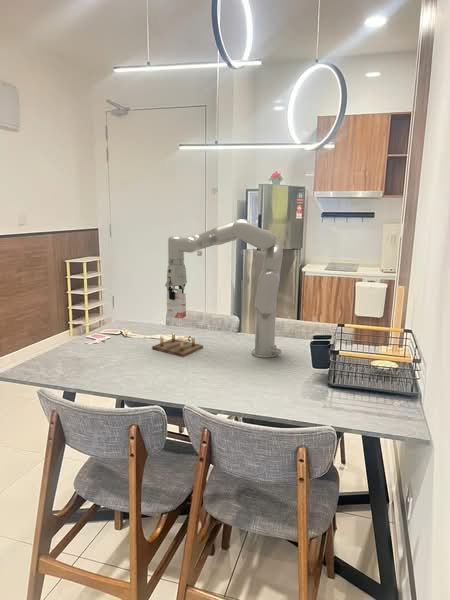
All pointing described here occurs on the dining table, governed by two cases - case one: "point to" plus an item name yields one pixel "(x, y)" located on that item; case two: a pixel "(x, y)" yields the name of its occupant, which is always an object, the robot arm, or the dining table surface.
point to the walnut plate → (177, 347)
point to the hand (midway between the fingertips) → (176, 298)
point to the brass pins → (174, 341)
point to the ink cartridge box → (176, 305)
